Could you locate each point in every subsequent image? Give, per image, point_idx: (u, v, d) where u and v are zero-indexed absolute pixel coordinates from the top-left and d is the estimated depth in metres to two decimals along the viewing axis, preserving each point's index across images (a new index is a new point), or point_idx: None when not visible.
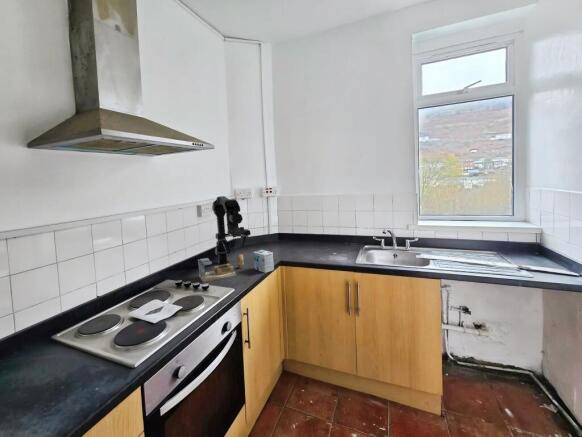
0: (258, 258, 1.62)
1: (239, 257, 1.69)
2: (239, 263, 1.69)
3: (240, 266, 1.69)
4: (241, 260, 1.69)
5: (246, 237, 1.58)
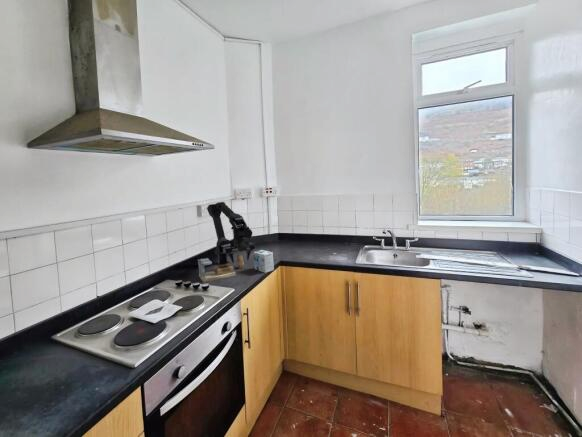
0: (258, 258, 1.62)
1: (239, 257, 1.69)
2: (239, 263, 1.69)
3: (240, 266, 1.69)
4: (241, 260, 1.69)
5: (251, 250, 1.71)
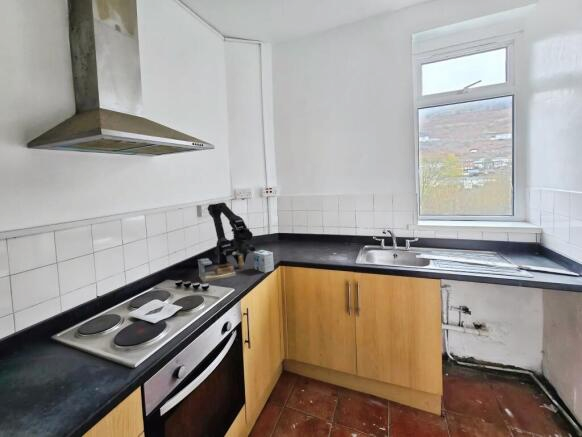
0: (258, 258, 1.62)
1: (239, 257, 1.69)
2: (239, 263, 1.69)
3: (240, 266, 1.69)
4: (241, 260, 1.69)
5: (247, 253, 1.70)
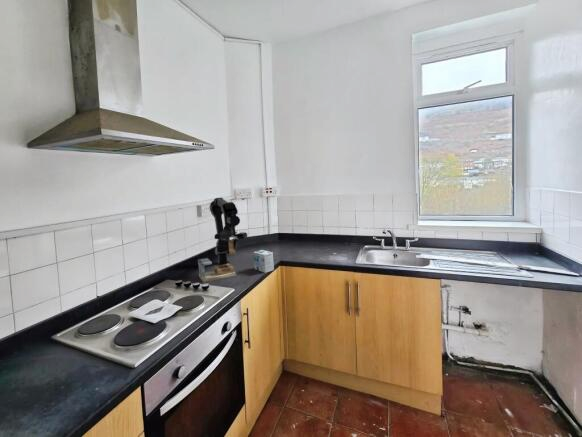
0: (258, 258, 1.62)
1: (228, 243, 1.63)
2: (229, 249, 1.64)
3: (229, 252, 1.64)
4: (230, 246, 1.63)
5: (235, 240, 1.60)
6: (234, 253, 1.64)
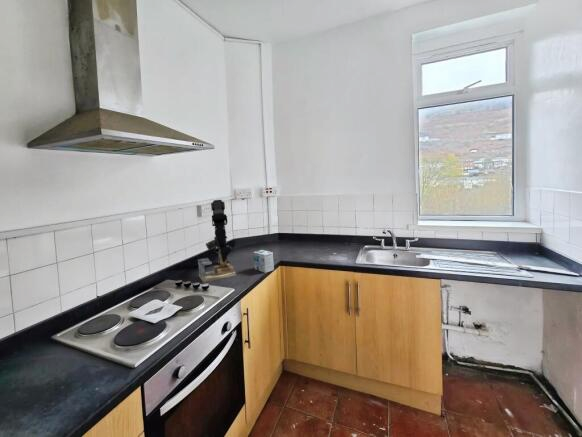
0: (258, 258, 1.62)
1: None
2: None
3: None
4: (219, 257, 1.59)
5: None
6: (222, 265, 1.58)
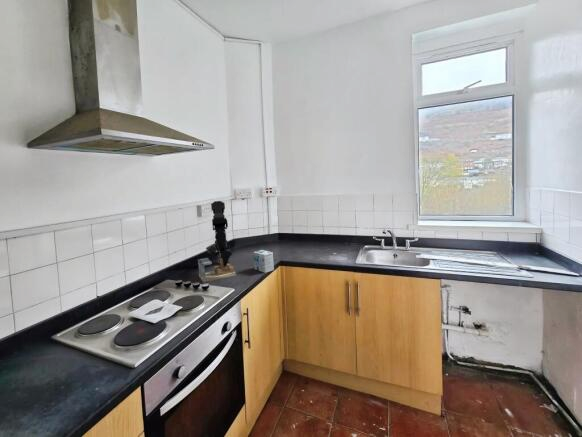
0: (258, 258, 1.62)
1: None
2: None
3: None
4: (220, 263, 1.59)
5: (220, 257, 1.53)
6: None
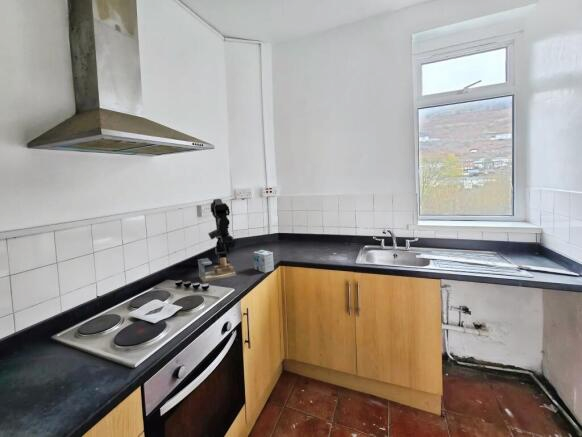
0: (258, 258, 1.62)
1: None
2: None
3: None
4: (220, 263, 1.59)
5: (223, 243, 1.59)
6: None
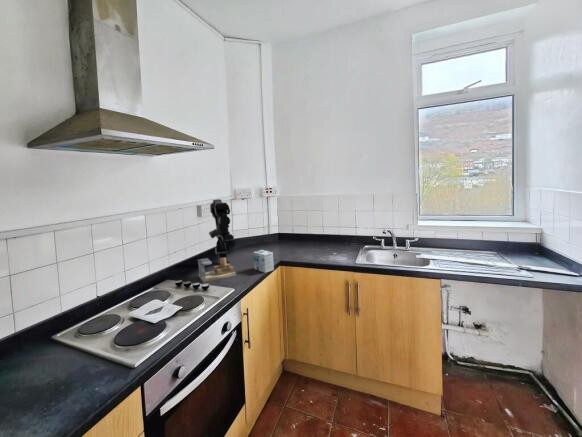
0: (258, 258, 1.62)
1: None
2: None
3: None
4: (220, 263, 1.59)
5: (223, 241, 1.60)
6: None
